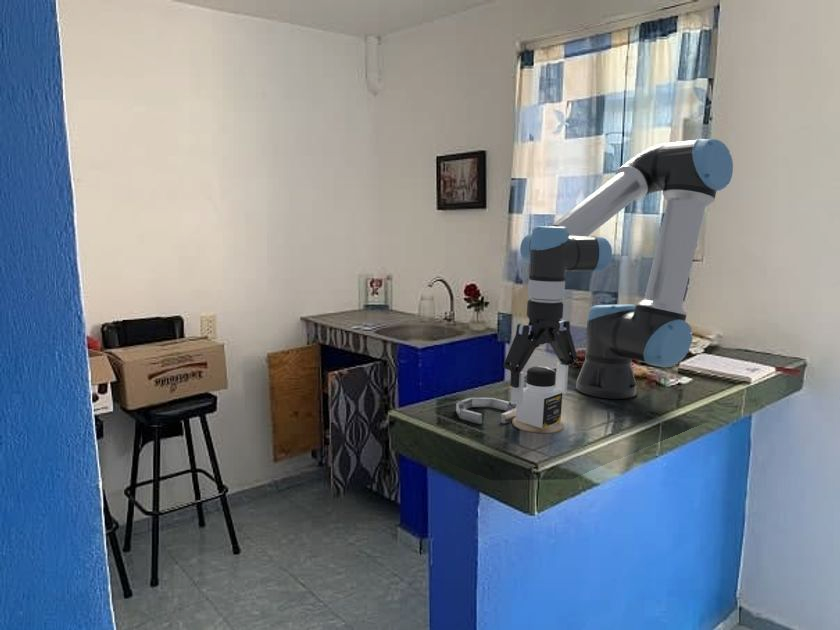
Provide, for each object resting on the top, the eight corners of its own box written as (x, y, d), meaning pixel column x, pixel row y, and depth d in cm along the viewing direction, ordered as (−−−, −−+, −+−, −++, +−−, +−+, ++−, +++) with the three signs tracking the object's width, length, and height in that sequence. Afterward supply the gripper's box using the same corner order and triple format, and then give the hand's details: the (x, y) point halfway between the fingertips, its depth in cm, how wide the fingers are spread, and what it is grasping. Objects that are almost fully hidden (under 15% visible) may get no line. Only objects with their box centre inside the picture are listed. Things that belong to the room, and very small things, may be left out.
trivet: (554, 416, 142) (554, 413, 142) (570, 433, 131) (570, 430, 131) (507, 416, 141) (507, 414, 140) (519, 433, 130) (519, 430, 130)
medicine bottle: (542, 429, 131) (546, 374, 129) (515, 421, 136) (518, 367, 134) (561, 422, 136) (564, 369, 134) (533, 414, 141) (536, 362, 139)
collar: (507, 405, 149) (507, 394, 148) (521, 423, 136) (521, 411, 136) (453, 405, 147) (453, 394, 147) (462, 423, 135) (463, 411, 134)
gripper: (571, 294, 142) (564, 385, 145) (489, 301, 127) (484, 401, 130) (598, 299, 136) (590, 393, 139) (515, 306, 121) (509, 410, 124)
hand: (539, 397), depth 135 cm, fingers open, 13 cm apart
